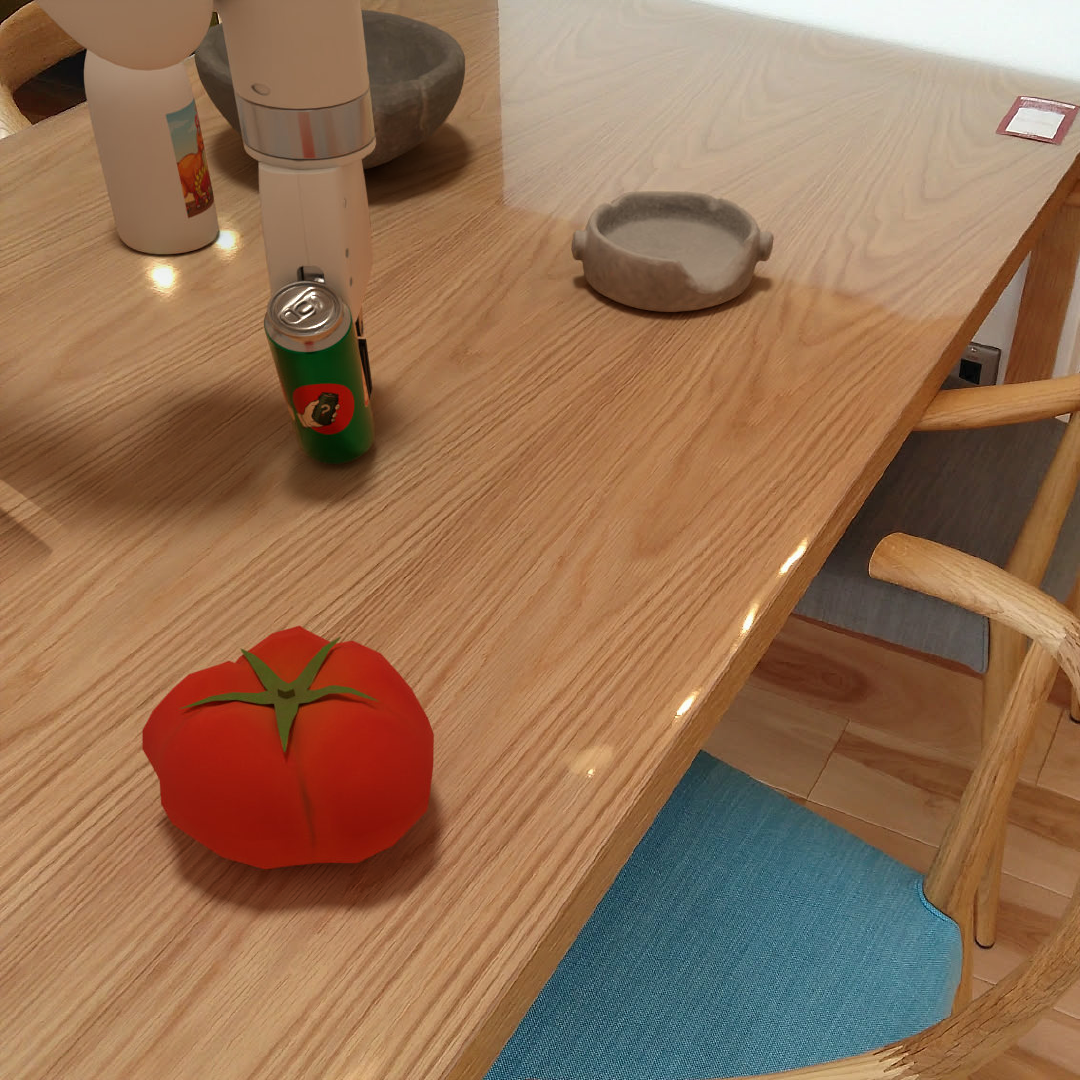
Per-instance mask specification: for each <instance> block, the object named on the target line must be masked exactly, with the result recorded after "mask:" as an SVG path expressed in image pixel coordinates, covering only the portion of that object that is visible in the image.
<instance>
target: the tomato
mask: <svg viewBox="0 0 1080 1080" xmlns="http://www.w3.org/2000/svg"><path fill="white" fill-rule="evenodd" d="M341 638H342V635H340V636H339V637H337V638H335V639H333V640H332V641H329V640H328V639H326V638H324V637H322V636H321V635H318V634H316V633H314V632H312V631H310V630H308V629H306V628H304V627H302V626H301V625H297V626H293V627H290V628H286V629H283V630H279V631H276V632H272V633H270V634H269V635H268V636H266V637H265V638H263V639H262V640H261V641H259V642H258V643H256V644H255V645H253V646H252V647H251V648H250V649H248V650H246V649H243V648H239V650H240V651H241V653H242V655H240V656H239V657H238V659H236V660H235V662H234V661H231V660H226V661H224V662H222V663H219V664H216V665H212V666H209V667H206V668H203V669H200V670H197V671H194V672H192V673H188V675H186V676H185V677H184V678H183V679H182V680H181V681H179V682H178V683H177V684H176V685H175V686H174V687H173V688H171V690H170V691H169V692H168V693H166V695H165V696H164V697H163V699H162V700H161V701H160V702H159V703H158V704H157V705H156V707H154V709H152V712H151V714H149V717H148V719H147V721H146V723H145V724H144V727H143V728H142V731H141V732H142V733H141V734H142V735H141V736H142V737H141V738H142V739H141V740H142V742H141V743H142V744H141V745H142V746H141V747H142V751H143V753H144V755H145V757H146V758H147V760H148V761H149V764H150V765H151V767H152V768H153V770H154V772H155V775H156V777H157V778H158V780H159V794H160V805H161V807H162V808H163V810H164V812H165V814H166V816H167V817H168V820H169V821H170V822H171V825H174V826H175V827H176V828H178V829H179V830H180V831H182V832H183V833H185V834H186V835H187V836H189V837H191V838H192V839H193V840H195V841H196V842H198V843H200V845H202V846H204V847H206V848H207V849H209V850H211V851H212V852H213V853H215V854H216V855H217V856H220V857H221V858H223V859H226V860H230V861H234V862H237V863H240V864H244V865H249V866H251V867H255V868H258V869H261V870H270V869H277V868H284V867H294V866H302V865H303V866H304V865H312V864H331V863H332V864H359V863H360V862H363V861H364V860H367V859H369V858H371V857H373V856H375V855H376V854H379V853H382V852H383V851H386V850H388V849H390V848H391V847H393V846H395V845H396V844H397V843H398V841H400V840H401V839H402V837H403V836H404V835H405V834H406V833H407V832H408V831H409V830H410V829H411V828H412V827H413V826H414V825H415V824H416V823H417V822H418V821H419V820H420V819H421V818H422V817H423V816H424V815H425V814H426V812H427V811H428V808H429V803H430V796H431V790H432V789H431V787H432V780H433V771H434V761H435V760H434V756H435V754H434V752H435V750H434V749H435V734H434V731H433V728H432V725H431V722H430V719H429V717H428V716H427V713H426V712H425V710H424V708H423V706H422V704H421V703H420V701H419V700H418V698H417V696H416V693H415V692H414V691H413V689H412V687H411V686H410V685H409V684H408V682H407V681H406V680H405V679H404V678H403V676H402V675H401V674H400V673H399V672H398V671H397V670H396V669H395V667H394V666H393V665H392V664H391V662H390V661H389V660H388V659H387V658H386V657H385V656H384V655H383V654H382V653H381V652H379V651H377V650H374V649H372V648H370V647H368V646H365V645H364V644H362V643H360V642H357V641H355V640H347V641H341V642H339V641H340V640H341Z"/></svg>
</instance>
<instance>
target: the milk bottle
mask: <svg viewBox="0 0 1080 1080" xmlns="http://www.w3.org/2000/svg"><path fill="white" fill-rule="evenodd" d="M83 67H84V68H83V84H84V90H85V91H84V92H85V98H86V103H87V107H88V112H89V117H90V122H91V126H92V131H93V136H94V139H95V143H96V144H95V145H96V149H97V152H98V157H99V162H100V165H101V169H102V173H103V177H104V183H105V186H106V190H107V194H108V199H109V203H110V208H111V211H112V215H113V219H114V224H115V227H116V231H117V234H118V236H119V238H120V239H121V241H122V242H123V243H124V244H125V245H126V246H127V247H129V248H131V249H133V250H135V251H138V252H141V253H147V254H152V255H153V254H155V255H173V254H174V255H176V254H182V253H188V252H191V251H195V250H199V249H201V248H203V247H205V246H207V245H209V244H210V243H212V242H213V241H214V240H215V239H216V238H217V235H218V233H219V229H220V226H219V219H218V213H217V207H216V202H215V201H216V200H215V196H214V191H213V185H212V180H211V175H210V169H209V164H208V159H207V154H206V149H205V144H204V138H203V133H202V129H201V123H200V118H199V113H198V109H197V103H196V100H195V95H194V91H193V87H192V84H191V80H190V77H189V74H188V72H187V69H186V67H185V65H184V63H183V61H181V62H179V63H178V64H175V65H173V66H170V67H167V68H164V69H158V70H150V71H145V70H133V69H129V68H126V67H122V66H118V65H115V64H113V63H111V62H109V61H107V60H105V59H102V58H100V57H99V56H97V55H95V54H94V53H92V52H91V51H89V50H88V49H86V53H85V60H84V66H83Z"/></svg>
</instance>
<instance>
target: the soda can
mask: <svg viewBox="0 0 1080 1080" xmlns="http://www.w3.org/2000/svg"><path fill="white" fill-rule="evenodd" d="M263 328H264V329H263V330H264V333H265V335H266V336H265V337H266V339H267V342H268V347H269V349H270V353H271V357H272V360H273V364H274V367H275V370H276V374H277V377H278V381H279V384H280V387H281V391H282V394H283V398H284V401H285V405H286V408H287V411H288V415H289V419H290V422H291V425H292V429H293V431H294V436H295V440H296V442H297V445H298V447H299V449H301V451H302V452H303V453H304V454H305V455H306V456H307V457H309V458H310V459H312V460H314V461H317V462H318V463H319V462H320V463H322V464H328V465H341V464H346V463H350V462H352V461H354V460H355V461H356V460H357V459H359V458H360V457H362V456H363V455H364V454H366V452H367V451H368V450H369V449H370V448H371V446H372V445H373V443H374V440H375V436H376V426H375V421H374V416H373V411H372V407H371V402H370V400H369V396H368V391H367V387H366V382H365V377H364V372H363V367H362V363H361V358H360V353H359V348H358V343H357V338H356V334H355V329H354V324H353V319H352V314H351V311H350V309H349V307H348V306H347V304H346V303H345V302H344V301H343V300H342V299H341V298H340V296H339V295H338V293H337V292H336V291H335V290H334V289H332V288H331V287H329V286H328V285H326V284H323V283H320V282H316V281H296V282H292V283H289V284H287V285H285V286H283V287H281V288H280V289H278V290H277V291H276V292H275V293H274V294H273V295H272V296H271V295H270V298H269V299H268V302H267V306H266V312H265V314H264V318H263Z"/></svg>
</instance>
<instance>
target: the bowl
mask: <svg viewBox="0 0 1080 1080" xmlns="http://www.w3.org/2000/svg"><path fill="white" fill-rule="evenodd" d="M361 12H362V21H363V30H364V39H365V48H366V57H367V69H368V75H369V84H370V93H371V102H372V111H373V120H374V129H375V138H376V146H375V149H374V150H373V151H372V152H371V153H370V154H369V155H367V156H366V157H365V158H363V159H362V165H363V170H367V169H372V168H376V167H378V166H381V165H384V164H386V163H388V162H389V163H390V162H391V161H392V160H395V159H396V158H399V157H400V156H402V155H404V154H406V153H408V152H409V151H411V150H412V149H413V148H415V147H417V146H418V145H420V144H421V143H423V142H424V141H426V140H427V139H428V138H430V137H431V136H432V135H433V134H434V133H435V132H436V131H437V130H438V129H439V128H440V127H441V126H442V125H443V124H444V123H445V121H447V119H448V117H449V116H450V115H451V113H452V111H454V109H455V107H456V105H457V102H458V100H459V98H460V96H461V93H462V89H463V86H464V81H465V74H466V55H465V53H464V49H462V47H461V45H460V43H459V41H457V39H456V38H454V37H453V36H452V35H451V34H450V33H448V32H447V31H445V30H443V29H440V28H439V27H437V26H434V25H433V24H431V23H428V22H425V21H422V20H417V19H415V18H411V17H408V16H404V15H401V14H395V13H390V12H385V11H378V10H372V9H371V10H370V9H361ZM194 63H195V68H196V70H197V75H198V78H199V80H200V83H201V84H202V86H203V88H204V90H205V92H206V94H207V96H208V97H209V98H210V100H211V102H212V104H213V105H214V106H215V108H216V109H217V110H218V112H219V113H220V114H221V115H222V116H223V118H224V119H225V121H226V122H227V123H228V124H229V125H230V127H231V129H233V130H234V131H235V132H236V133H237V134H238V135H239V136H240V137H241V138H242V133H241V127H240V121H239V116H238V110H237V105H236V99H235V93H234V88H233V82H232V76H231V71H230V65H229V60H228V54H227V48H226V43H225V37H224V31H223V26H222V22H220V23H218V24H216V25H213V26H209V28H208V31H207V33H206V35H205V37H204V39H203V40H202V42H201V44H200V45H199V46H198V48H197V49H196V50H195V51H194Z"/></svg>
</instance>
